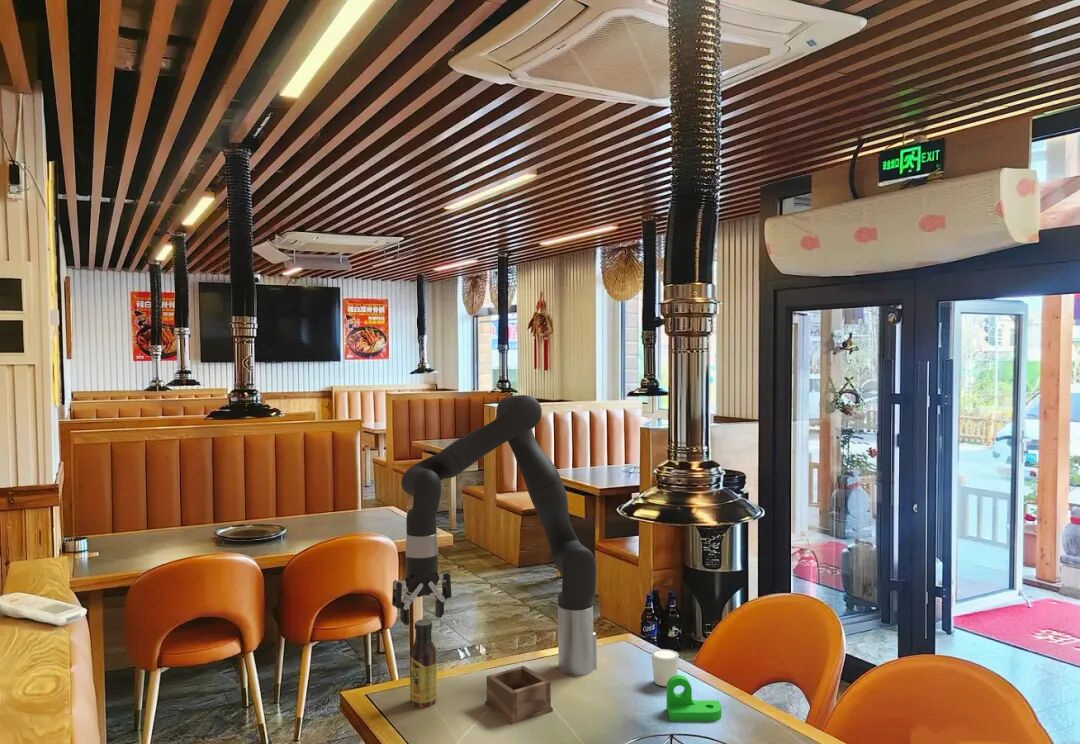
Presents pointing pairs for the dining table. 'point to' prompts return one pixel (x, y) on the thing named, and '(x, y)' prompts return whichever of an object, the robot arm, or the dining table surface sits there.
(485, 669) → the dining table surface
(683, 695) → the mechanical part
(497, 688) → the bottle caddy
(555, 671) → the dining table surface
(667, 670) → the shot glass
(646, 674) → the dining table surface
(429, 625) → the sauce bottle
